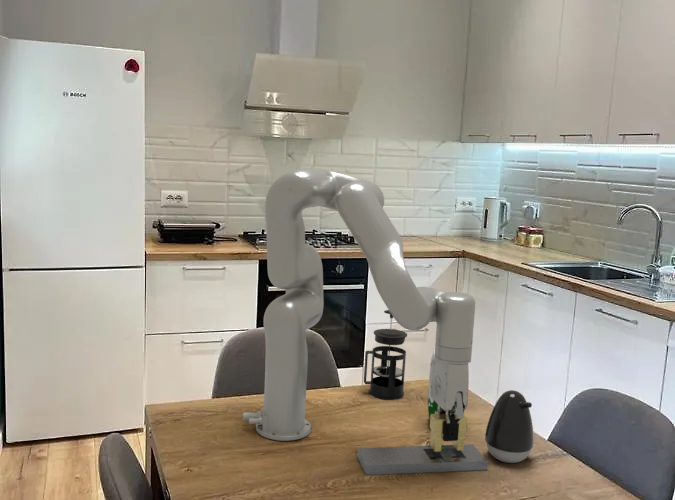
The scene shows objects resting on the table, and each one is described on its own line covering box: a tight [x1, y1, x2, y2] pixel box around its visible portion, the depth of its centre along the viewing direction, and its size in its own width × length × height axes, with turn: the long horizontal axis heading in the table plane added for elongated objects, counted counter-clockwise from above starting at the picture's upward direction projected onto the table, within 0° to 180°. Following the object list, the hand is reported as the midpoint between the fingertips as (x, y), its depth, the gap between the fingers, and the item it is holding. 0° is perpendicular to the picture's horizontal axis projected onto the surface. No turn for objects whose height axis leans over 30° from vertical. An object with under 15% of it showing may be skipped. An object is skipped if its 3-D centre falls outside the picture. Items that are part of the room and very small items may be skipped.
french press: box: [363, 309, 408, 401], centre depth 181 cm, size 12×9×23 cm
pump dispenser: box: [484, 389, 535, 464], centre depth 146 cm, size 10×10×15 cm
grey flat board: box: [356, 443, 489, 476], centre depth 142 cm, size 26×8×2 cm, turn 101°
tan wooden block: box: [429, 413, 468, 452], centre depth 142 cm, size 7×3×7 cm, turn 101°
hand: (447, 435), depth 142 cm, fingers closed on tan wooden block, 3 cm apart
